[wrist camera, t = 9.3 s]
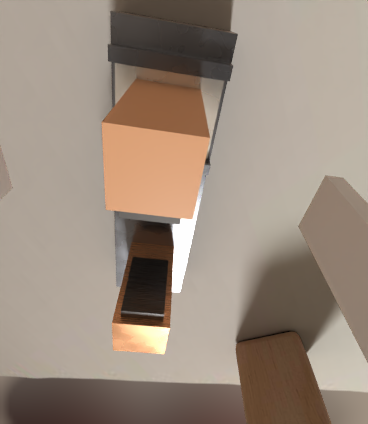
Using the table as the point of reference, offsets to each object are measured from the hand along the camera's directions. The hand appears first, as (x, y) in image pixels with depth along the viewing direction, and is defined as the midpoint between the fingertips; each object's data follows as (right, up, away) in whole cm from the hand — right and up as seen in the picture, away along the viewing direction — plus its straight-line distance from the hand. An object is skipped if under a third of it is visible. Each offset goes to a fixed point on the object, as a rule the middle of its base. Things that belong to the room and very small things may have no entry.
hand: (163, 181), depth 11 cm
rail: (-1, +1, +13) cm, 13 cm away
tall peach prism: (0, +5, +6) cm, 8 cm away
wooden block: (+15, -24, +32) cm, 43 cm away
